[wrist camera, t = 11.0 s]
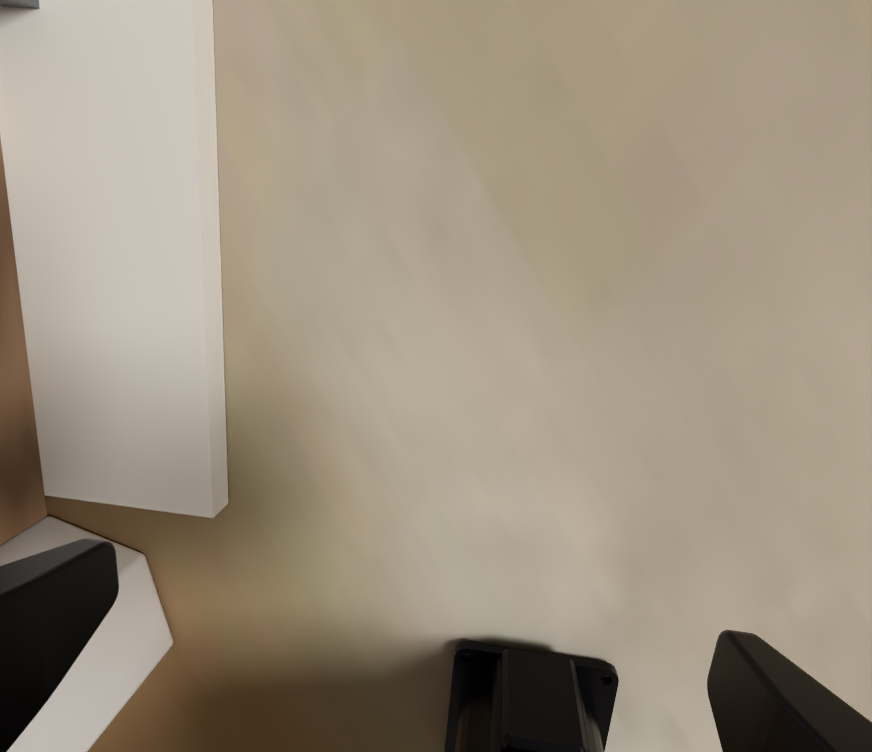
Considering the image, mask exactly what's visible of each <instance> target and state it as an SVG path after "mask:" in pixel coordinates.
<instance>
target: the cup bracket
mask: <svg viewBox="0 0 872 752" xmlns="http://www.w3.org/2000/svg"><path fill="white" fill-rule="evenodd" d="M0 5H1V6H3V7H12V8H36V9H40V7H39V0H0Z"/></svg>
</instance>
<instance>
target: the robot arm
mask: <svg viewBox="0 0 872 752" xmlns="http://www.w3.org/2000/svg"><path fill="white" fill-rule="evenodd" d="M118 592H119V579H118V569H117V559H116V550H115V547H114V545H113V544H112V543H111V542H109V541H104V540H97V539H90V538H85V539H80V540H77V541H74V542H71V543H68V544H65V545H62V546H59V547H56V548H53V549H50V550H47V551H44V552H41V553H38V554H35V555H32V556H29V557H26V558H23V559H20V560H17V561H14V562H11V563H8V564H5V565H2V566H0V752H7V751H8V750H9V748H10V747H11V746H12V745H13V743H14V742H15V741H16V740H17V739H18V737H19V736H20V735H21V734H22V732H23V731H24V730H25V729H26V727H27V726H28V725H29V724H30V722H31V721H32V720H33V719H34V718H35V716H36V715H37V714H38V712H39V711H40V710H41V709H42V707H43V706H44V705H45V703H46V702H47V701H48V699H49V698H50V697H51V695H52V694H53V692H54V691H55V690H56V688H57V687H58V686H59V684H60V683H61V681H62V680H63V678H64V677H65V675H66V674H67V672H68V671H69V670H70V668H71V667H72V665H73V664H74V662H75V661H76V659H77V658H78V656H79V655H80V653H81V652H82V650H83V649H84V648H85V646H86V645H87V643H88V642H89V640H90V639H91V637H92V636H93V634H94V633H95V631H96V630H97V628H98V627H99V625H100V624H101V623H102V621H103V620H104V618H105V617H106V615H107V614H108V612H109V611H110V609H111V608H112V606H113V605H114V603H115V601H116V599H117V596H118ZM463 654H470V655H471V656H469V657H466V656H464V655H463ZM603 675H608V677H605V678H602V677H601V676H603ZM617 687H618V675H617V671H616V669H615V667H614V666H613V665H612V664H610V663H607V662H601V661H595V660H588V659H581V658H575V657H568V656H562V655H555V654H548V653H542V652H535V651H529V650H522V649H515V648H509V647H502V646H496V645H489V644H482V643H476V642H469V641H464V642H461V643H459V644H458V645H457V646H456V649H455V656H454V666H453V675H452V685H451V695H450V705H449V715H448V724H447V734H446V744H445V752H604V751H605V746H606V741H607V736H608V731H609V726H610V721H611V717H612V712H613V707H614V702H615V697H616V692H617ZM707 689H708V696H709V700H710V704H711V708H712V712H713V716H714V719H715V723H716V727H717V731H718V735H719V739H720V743H721V747H722V750H723V752H872V722H871V721H869V720H868V719H867V718H865V717H864V716H863V715H861V714H860V713H859V712H857V711H856V710H855V709H853V708H852V707H851V706H849V705H848V704H847V703H845V702H844V701H843V700H842V699H840V698H839V697H838V696H836V695H835V694H834V693H832V692H831V691H830V690H828V689H827V688H826V687H824V686H823V685H822V684H820V683H819V682H818V681H816V680H815V679H814V678H812V677H811V676H810V675H809V674H807V673H806V672H805V671H803V670H802V669H801V668H799V667H798V666H797V665H795V664H794V663H793V662H791V661H790V660H789V659H787V658H786V657H785V656H783V655H782V654H781V653H779V652H778V651H777V650H776V649H774V648H773V647H772V646H770V645H769V644H768V643H766V642H765V641H764V640H762V639H761V638H760V637H758V636H757V635H755V634H752V633H747V632H739V631H732V630H725V631H723V632H721V633H720V635H719V637H718V640H717V643H716V647H715V651H714V655H713V659H712V663H711V666H710V670H709V674H708V680H707Z"/></svg>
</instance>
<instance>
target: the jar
mask: <svg viewBox="0 0 872 752" xmlns="http://www.w3.org/2000/svg"><path fill="white" fill-rule="evenodd" d="M85 538H90V539H97V540H104V541H109V542H111V543H112V544H113V545H114V547H115V550H116V559H117V569H118V579H119V592H118V596H117V599H116V601H115V603H114V605H113V606H112V608H111V609H110V611H109V612H108V614H107V615H106V617H105V618H104V620H103V621H102V623H101V624H100V625H99V627H98V628H97V630H96V631H95V633H94V634H93V636H92V637H91V639H90V640H89V642H88V643H87V645H86V646H85V648H84V649H83V650H82V652H81V653H80V655H79V656H78V658H77V659H76V661H75V662H74V664H73V665H72V667H71V668H70V670H69V671H68V672H67V674H66V675H65V677H64V678H63V680H62V681H61V683H60V684H59V686H58V687H57V688H56V690H55V691H54V692H53V694H52V695H51V697H50V698H49V699H48V701H47V702H46V703H45V705H44V706H43V707H42V709H41V710H40V711H39V712H38V714H37V715H36V716H35V718H34V719H33V720H32V721H31V722H30V724H29V725H28V726H27V727H26V729H25V730H24V731H23V732H22V734H21V735H20V736H19V737H18V739H17V740H16V741H15V742H14V743H13V745H12V746H11V747H10V748H9V750H8V751H7V752H88V750H89V749H90V748H91V747H92V745H93V744H94V743H95V742H96V740H97V739H98V738H99V737H100V735H101V734H102V733H103V732H104V730H105V729H106V728H107V727H108V725H109V724H110V723H111V722H112V720H113V719H114V718H115V717H116V715H117V714H118V713H119V712H120V710H121V709H122V708H123V707H124V705H125V704H126V703H127V702H128V700H129V699H130V698H131V697H132V695H133V694H134V693H135V692H136V690H137V689H138V688H139V687H140V685H141V684H142V683H143V681H144V680H145V679H146V678H147V676H148V675H149V674H150V673H151V671H152V670H153V669H154V668H155V666H156V665H157V664H158V663H159V661H160V660H161V659H162V658H163V656H164V655H165V654H166V653H167V651H168V650H169V649H170V648H171V646H172V644H173V638H172V635H171V632H170V629H169V626H168V623H167V620H166V617H165V614H164V611H163V608H162V605H161V602H160V599H159V596H158V593H157V590H156V587H155V584H154V581H153V578H152V575H151V572H150V569H149V566H148V563H147V560H146V557H145V555H144V554H142V553H140V552H138V551H135V550H133V549H130V548H128V547H125V546H123V545H120V544H118V543H116V542H113V541H111V540H108V539H106V538H103V537H101V536H98V535H96V534H93V533H91V532H89V531H86V530H84V529H81V528H79V527H76V526H74V525H71V524H69V523H66V522H64V521H61V520H59V519H57V518H54V517H51V516H46V517H44V518H42V519H41V520H39V521H38V522H36V523H34V524H33V525H31V526H30V527H28V528H26V529H25V530H23V531H21V532H20V533H18V534H17V535H15V536H13V537H12V538H10V539H9V540H7V541H5V542H4V543H2V544H1V545H0V566H2V565H5V564H8V563H11V562H14V561H17V560H20V559H23V558H26V557H29V556H32V555H35V554H38V553H41V552H44V551H47V550H50V549H53V548H56V547H59V546H62V545H65V544H68V543H71V542H74V541H77V540H80V539H85Z"/></svg>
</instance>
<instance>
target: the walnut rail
mask: <svg viewBox="0 0 872 752" xmlns="http://www.w3.org/2000/svg"><path fill="white" fill-rule="evenodd" d="M46 516H47V510H46V502H45V494H44V486H43V477H42V469H41V461H40V453H39V445H38V437H37V429H36V421H35V413H34V405H33V397H32V388H31V380H30V372H29V364H28V356H27V348H26V340H25V332H24V324H23V316H22V307H21V299H20V291H19V283H18V275H17V267H16V259H15V251H14V243H13V235H12V226H11V218H10V210H9V202H8V194H7V186H6V178H5V170H4V162H3V154H2V146H1V137H0V545H1V544H2V543H4V542H5V541H7V540H9V539H10V538H12V537H13V536H15V535H17V534H18V533H20V532H21V531H23V530H25V529H26V528H28V527H30V526H31V525H33V524H34V523H36V522H38V521H39V520H41V519H42V518H44V517H46Z"/></svg>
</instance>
